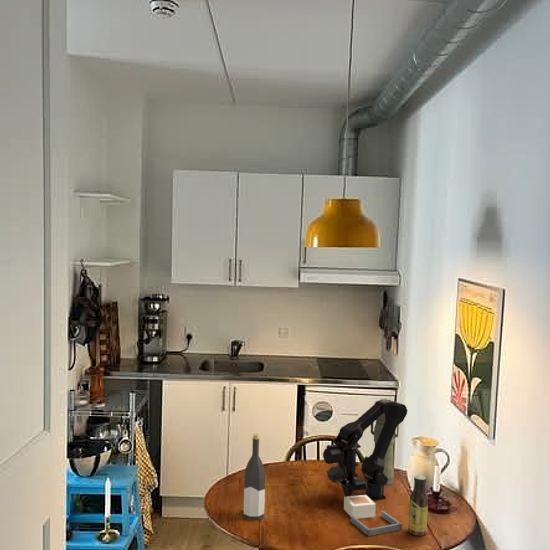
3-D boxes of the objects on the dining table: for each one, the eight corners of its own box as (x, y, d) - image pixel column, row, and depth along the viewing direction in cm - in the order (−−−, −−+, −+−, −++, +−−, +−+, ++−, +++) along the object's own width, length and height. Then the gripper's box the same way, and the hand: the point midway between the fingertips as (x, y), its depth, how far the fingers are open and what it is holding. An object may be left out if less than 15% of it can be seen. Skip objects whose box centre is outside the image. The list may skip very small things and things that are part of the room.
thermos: (369, 476, 253) (371, 397, 252) (396, 479, 250) (399, 399, 249) (367, 484, 244) (370, 401, 243) (396, 487, 242) (399, 404, 241)
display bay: (383, 515, 214) (383, 510, 214) (402, 529, 204) (402, 523, 204) (350, 521, 209) (350, 516, 208) (368, 536, 198) (368, 530, 198)
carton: (365, 507, 222) (366, 494, 221) (375, 517, 213) (375, 503, 213) (343, 509, 219) (344, 496, 219) (352, 519, 211) (353, 506, 211)
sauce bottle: (405, 528, 205) (407, 472, 204) (422, 528, 205) (425, 472, 205) (411, 537, 198) (413, 480, 198) (429, 537, 199) (431, 480, 198)
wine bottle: (267, 513, 214) (270, 433, 213) (260, 522, 206) (262, 439, 205) (247, 509, 216) (249, 430, 215) (239, 518, 209) (241, 436, 208)
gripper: (318, 454, 229) (317, 493, 230) (342, 470, 212) (341, 512, 212) (342, 451, 234) (341, 489, 234) (368, 467, 217) (367, 508, 217)
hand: (347, 499), depth 224 cm, fingers closed
